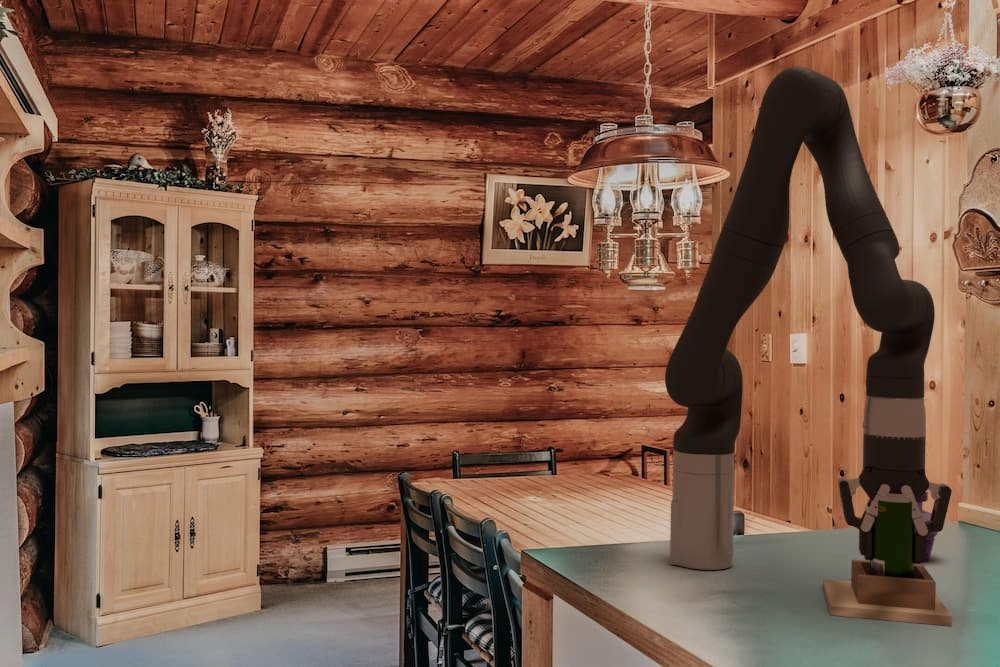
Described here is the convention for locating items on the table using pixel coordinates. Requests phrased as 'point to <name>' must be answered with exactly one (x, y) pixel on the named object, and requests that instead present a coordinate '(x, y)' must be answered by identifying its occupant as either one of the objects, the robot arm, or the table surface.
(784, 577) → the table surface
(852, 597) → the can caddy
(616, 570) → the table surface
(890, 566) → the beer can
